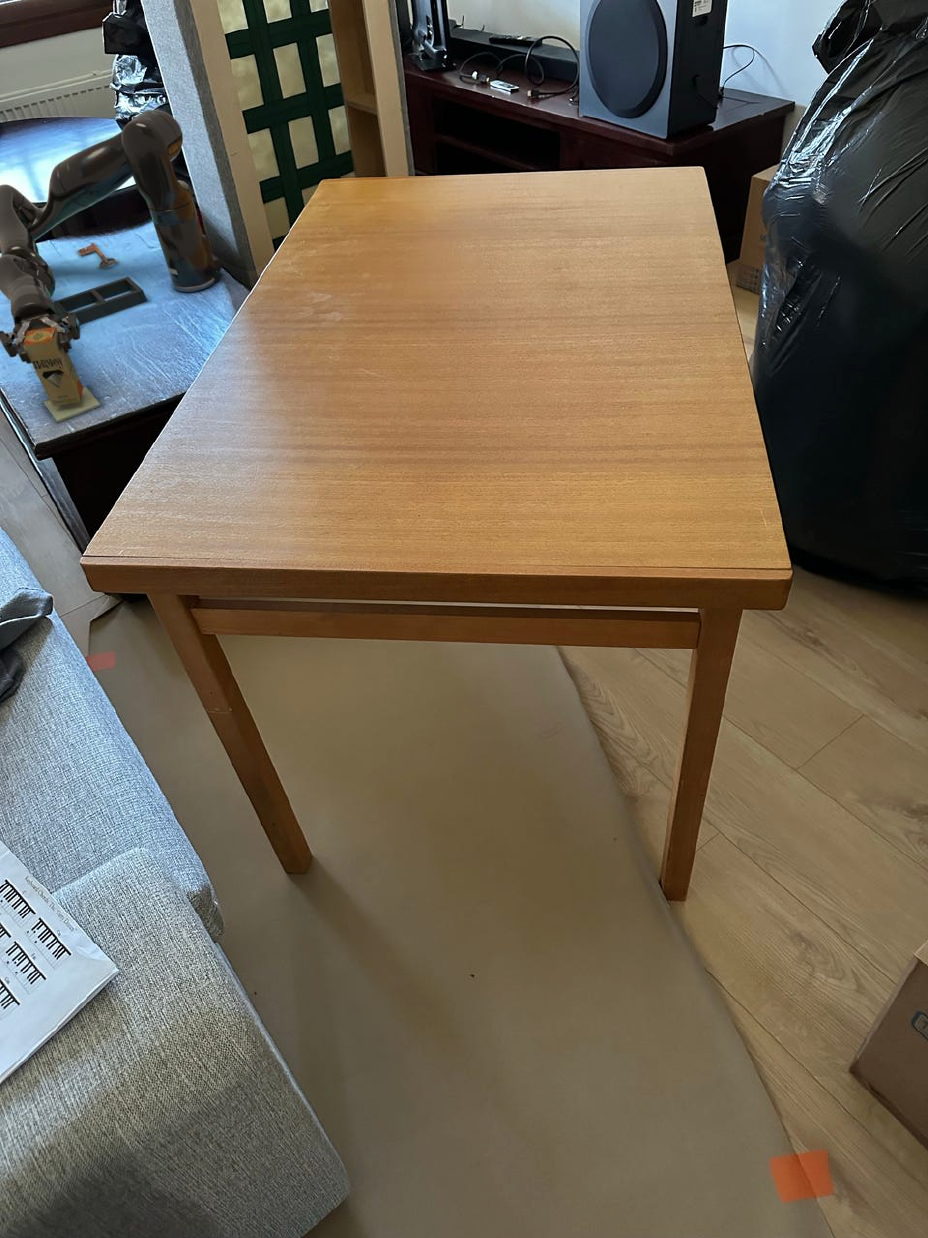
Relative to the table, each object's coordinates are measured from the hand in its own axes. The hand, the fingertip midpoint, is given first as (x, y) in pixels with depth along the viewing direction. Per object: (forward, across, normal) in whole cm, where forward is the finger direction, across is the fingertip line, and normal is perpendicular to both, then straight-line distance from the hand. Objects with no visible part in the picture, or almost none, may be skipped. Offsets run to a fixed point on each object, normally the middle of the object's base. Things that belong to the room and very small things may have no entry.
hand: (45, 353), depth 144 cm
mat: (-2, 0, -12) cm, 12 cm away
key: (-67, -15, -12) cm, 70 cm away
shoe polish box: (-2, 0, -10) cm, 10 cm away
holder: (-40, -12, -12) cm, 43 cm away
